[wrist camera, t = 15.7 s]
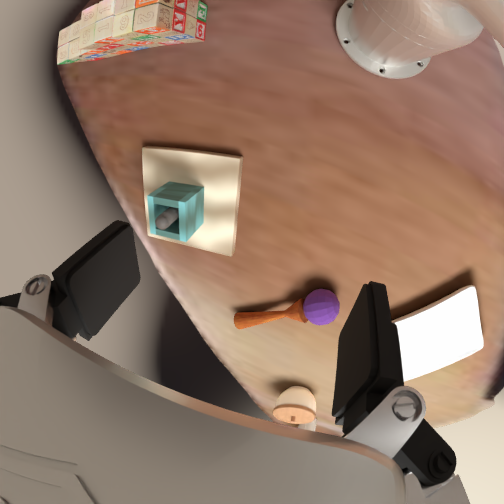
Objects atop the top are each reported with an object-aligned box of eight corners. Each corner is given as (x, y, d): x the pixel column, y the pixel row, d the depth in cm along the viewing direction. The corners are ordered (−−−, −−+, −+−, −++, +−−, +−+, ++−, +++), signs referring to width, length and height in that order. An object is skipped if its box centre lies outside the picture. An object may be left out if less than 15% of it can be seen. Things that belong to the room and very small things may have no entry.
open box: (169, 181, 39) (147, 195, 35) (204, 186, 39) (185, 202, 34) (170, 215, 43) (150, 233, 38) (203, 223, 42) (186, 242, 37)
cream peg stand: (147, 145, 39) (108, 162, 31) (243, 156, 36) (217, 175, 28) (152, 231, 48) (121, 259, 40) (234, 251, 45) (213, 287, 37)
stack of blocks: (96, 61, 32) (41, 67, 22) (98, 31, 28) (44, 30, 18) (205, 41, 28) (155, 26, 18) (209, 4, 25) (161, -21, 15)
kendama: (224, 317, 49) (329, 298, 38) (239, 300, 54) (335, 278, 43) (238, 342, 50) (340, 329, 40) (251, 324, 55) (345, 308, 45)
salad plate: (400, 372, 52) (401, 384, 49) (367, 320, 46) (368, 334, 43) (480, 337, 41) (484, 349, 38) (468, 271, 35) (474, 283, 32)
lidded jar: (321, 384, 60) (316, 416, 52) (316, 402, 65) (311, 431, 58) (279, 378, 62) (271, 410, 55) (278, 397, 68) (271, 425, 61)
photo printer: (306, 415, 71) (298, 449, 61) (319, 417, 71) (312, 452, 61) (296, 425, 77) (289, 456, 67) (308, 427, 77) (302, 458, 67)
